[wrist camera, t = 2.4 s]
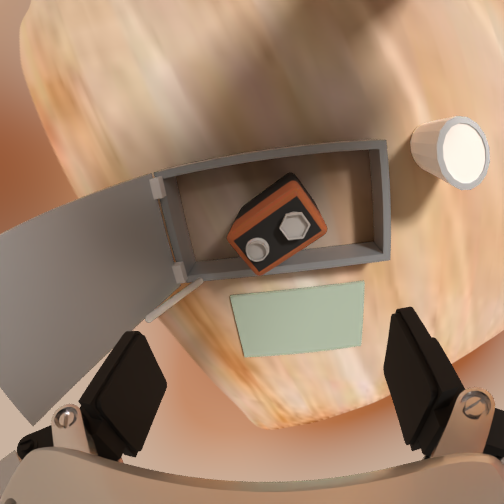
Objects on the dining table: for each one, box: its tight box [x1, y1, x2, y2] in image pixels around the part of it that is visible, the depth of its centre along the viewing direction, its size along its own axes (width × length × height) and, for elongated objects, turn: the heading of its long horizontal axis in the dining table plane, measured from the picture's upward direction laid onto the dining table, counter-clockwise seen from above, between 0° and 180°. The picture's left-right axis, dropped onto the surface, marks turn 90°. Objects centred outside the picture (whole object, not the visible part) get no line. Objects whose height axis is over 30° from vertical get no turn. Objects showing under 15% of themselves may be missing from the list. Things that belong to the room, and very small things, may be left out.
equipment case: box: [145, 139, 391, 323], centre depth 24 cm, size 23×12×11 cm, turn 99°
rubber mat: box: [230, 280, 364, 357], centre depth 35 cm, size 16×10×1 cm, turn 99°
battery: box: [227, 173, 327, 276], centre depth 25 cm, size 4×7×10 cm, turn 128°
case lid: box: [0, 173, 181, 426], centre depth 19 cm, size 21×12×1 cm
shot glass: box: [410, 116, 490, 190], centre depth 22 cm, size 7×7×7 cm
